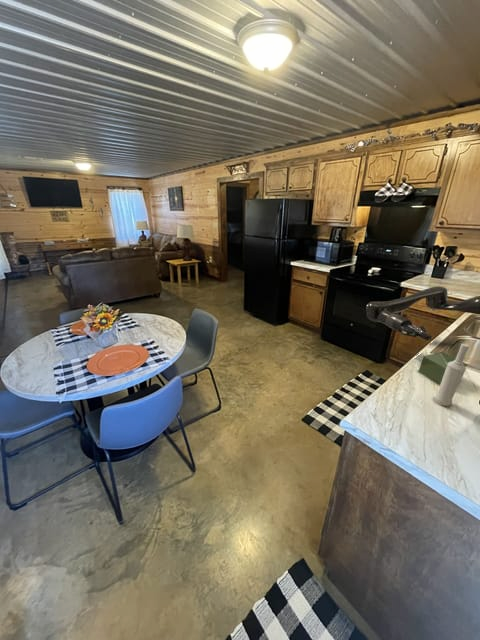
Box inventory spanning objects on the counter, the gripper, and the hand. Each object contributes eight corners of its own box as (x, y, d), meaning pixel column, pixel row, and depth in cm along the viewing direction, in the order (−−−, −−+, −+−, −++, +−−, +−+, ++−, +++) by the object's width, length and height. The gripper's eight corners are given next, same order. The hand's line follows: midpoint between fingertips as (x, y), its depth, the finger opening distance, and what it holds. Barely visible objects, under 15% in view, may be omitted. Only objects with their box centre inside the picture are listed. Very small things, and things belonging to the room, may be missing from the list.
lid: (467, 366, 109) (467, 364, 108) (447, 371, 106) (448, 369, 105) (441, 353, 118) (442, 351, 118) (423, 357, 115) (423, 355, 115)
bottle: (432, 401, 100) (454, 344, 90) (436, 395, 103) (457, 340, 93) (448, 408, 97) (473, 350, 86) (452, 402, 100) (476, 345, 90)
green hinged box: (459, 380, 112) (465, 365, 109) (440, 385, 109) (445, 370, 106) (436, 367, 121) (441, 353, 118) (418, 371, 118) (423, 357, 115)
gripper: (406, 327, 135) (438, 343, 120) (385, 331, 132) (416, 348, 116) (409, 314, 132) (443, 329, 117) (389, 317, 128) (420, 333, 113)
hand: (429, 338), depth 117 cm, fingers closed
